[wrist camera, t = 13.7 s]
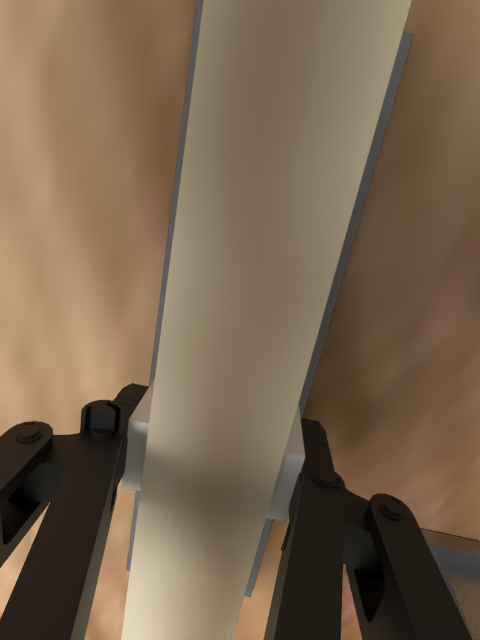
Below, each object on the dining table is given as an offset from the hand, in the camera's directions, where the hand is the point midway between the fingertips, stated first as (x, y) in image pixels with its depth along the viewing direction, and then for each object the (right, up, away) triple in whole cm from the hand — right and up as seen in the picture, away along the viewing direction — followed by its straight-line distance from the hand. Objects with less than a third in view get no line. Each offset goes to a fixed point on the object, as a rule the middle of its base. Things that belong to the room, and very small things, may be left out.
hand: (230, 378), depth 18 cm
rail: (0, -1, -2) cm, 2 cm away
